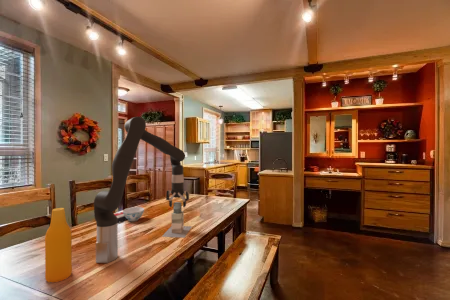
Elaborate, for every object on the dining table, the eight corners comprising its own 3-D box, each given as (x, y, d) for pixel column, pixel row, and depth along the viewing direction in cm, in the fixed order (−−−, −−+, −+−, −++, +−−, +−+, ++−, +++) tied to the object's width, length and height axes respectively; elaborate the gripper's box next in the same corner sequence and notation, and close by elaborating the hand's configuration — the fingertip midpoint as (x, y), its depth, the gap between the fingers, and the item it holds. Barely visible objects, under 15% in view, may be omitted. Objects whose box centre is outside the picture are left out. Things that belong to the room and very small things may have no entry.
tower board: (184, 240, 136) (184, 237, 136) (161, 239, 137) (161, 236, 137) (191, 228, 155) (191, 226, 155) (171, 227, 156) (171, 225, 156)
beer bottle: (54, 285, 92) (53, 213, 91) (40, 280, 95) (39, 210, 95) (77, 273, 100) (76, 207, 100) (62, 269, 104) (62, 205, 103)
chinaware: (120, 219, 174) (120, 209, 173) (139, 215, 183) (139, 206, 183) (126, 224, 162) (126, 213, 162) (147, 220, 172) (147, 210, 172)
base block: (180, 233, 143) (180, 223, 143) (171, 232, 143) (171, 223, 143) (183, 229, 149) (183, 220, 149) (174, 229, 149) (174, 220, 149)
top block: (180, 223, 143) (180, 214, 143) (171, 223, 143) (171, 213, 143) (183, 220, 149) (183, 211, 149) (174, 220, 149) (174, 211, 149)
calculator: (132, 213, 179) (116, 217, 165) (132, 218, 179) (116, 223, 165) (122, 211, 183) (105, 215, 170) (121, 216, 183) (105, 221, 169)
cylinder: (180, 213, 143) (180, 204, 143) (172, 213, 144) (172, 204, 144) (182, 211, 148) (182, 202, 148) (174, 211, 149) (174, 202, 149)
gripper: (164, 182, 142) (164, 208, 143) (187, 182, 141) (187, 208, 141) (168, 180, 150) (168, 205, 150) (190, 180, 149) (190, 205, 149)
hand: (177, 206), depth 146 cm, fingers open, 8 cm apart
